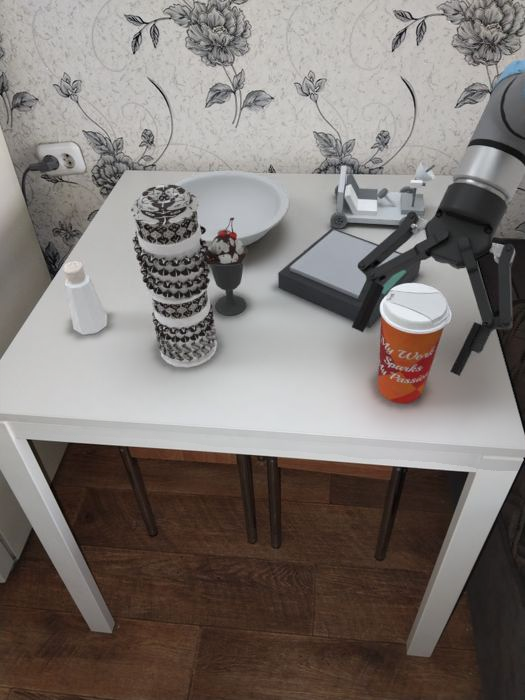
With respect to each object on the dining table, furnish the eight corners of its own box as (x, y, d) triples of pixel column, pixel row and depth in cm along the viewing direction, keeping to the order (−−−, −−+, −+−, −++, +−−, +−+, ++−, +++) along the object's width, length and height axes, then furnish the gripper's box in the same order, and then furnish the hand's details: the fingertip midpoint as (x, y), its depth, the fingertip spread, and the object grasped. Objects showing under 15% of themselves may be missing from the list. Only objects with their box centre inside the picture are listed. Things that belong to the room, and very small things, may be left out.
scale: (418, 275, 98) (421, 256, 95) (369, 327, 89) (371, 308, 86) (331, 242, 105) (332, 223, 103) (278, 287, 96) (278, 268, 94)
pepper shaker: (68, 320, 92) (48, 262, 85) (101, 308, 94) (84, 250, 87) (79, 340, 89) (59, 282, 81) (113, 327, 91) (97, 269, 83)
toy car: (436, 152, 107) (439, 184, 99) (427, 201, 114) (430, 234, 106) (337, 149, 110) (332, 179, 102) (334, 196, 117) (329, 228, 108)
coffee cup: (362, 400, 78) (373, 315, 68) (377, 359, 84) (389, 274, 73) (425, 417, 76) (447, 331, 65) (437, 374, 81) (458, 288, 71)
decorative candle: (159, 328, 90) (127, 178, 73) (219, 324, 90) (201, 173, 73) (154, 371, 84) (118, 217, 66) (219, 366, 84) (200, 212, 66)
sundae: (253, 292, 96) (248, 211, 85) (249, 319, 91) (243, 237, 80) (213, 291, 96) (203, 210, 86) (206, 318, 91) (195, 236, 81)
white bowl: (289, 199, 116) (289, 168, 112) (290, 272, 99) (289, 239, 95) (169, 201, 117) (163, 171, 113) (148, 274, 100) (141, 241, 96)
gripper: (584, 234, 69) (503, 396, 72) (395, 176, 81) (331, 317, 83) (586, 214, 63) (497, 393, 65) (380, 154, 74) (310, 308, 76)
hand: (403, 351), depth 74 cm, fingers open, 13 cm apart
